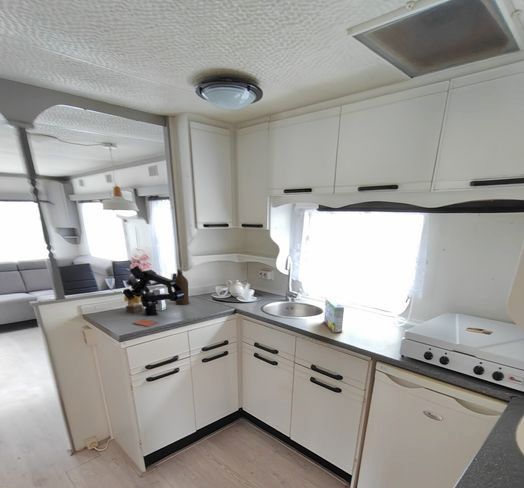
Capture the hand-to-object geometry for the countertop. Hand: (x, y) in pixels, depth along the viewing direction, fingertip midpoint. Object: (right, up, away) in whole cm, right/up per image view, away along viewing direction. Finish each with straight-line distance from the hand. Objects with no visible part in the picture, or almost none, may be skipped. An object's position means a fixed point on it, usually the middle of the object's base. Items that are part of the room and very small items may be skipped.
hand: (131, 299), depth 219 cm
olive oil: (+29, 0, +24) cm, 37 cm away
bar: (+1, -1, 0) cm, 2 cm away
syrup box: (+17, -6, +8) cm, 20 cm away
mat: (+17, -18, -22) cm, 33 cm away
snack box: (+131, -21, -23) cm, 135 cm away
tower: (+1, -8, +2) cm, 8 cm away
